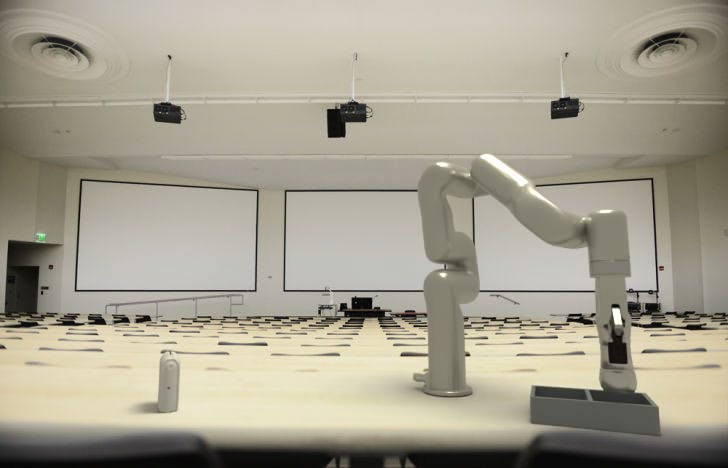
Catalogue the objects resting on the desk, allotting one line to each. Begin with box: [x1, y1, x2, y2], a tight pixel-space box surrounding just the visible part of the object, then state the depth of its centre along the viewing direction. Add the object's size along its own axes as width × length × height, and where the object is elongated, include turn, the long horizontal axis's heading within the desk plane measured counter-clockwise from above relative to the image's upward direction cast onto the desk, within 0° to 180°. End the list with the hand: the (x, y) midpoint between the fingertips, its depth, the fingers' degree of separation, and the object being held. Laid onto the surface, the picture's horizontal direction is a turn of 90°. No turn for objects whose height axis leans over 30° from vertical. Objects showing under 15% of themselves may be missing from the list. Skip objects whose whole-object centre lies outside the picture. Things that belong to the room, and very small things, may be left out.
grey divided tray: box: [529, 384, 662, 437], centre depth 93 cm, size 22×12×5 cm, turn 69°
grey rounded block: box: [157, 351, 181, 413], centre depth 105 cm, size 10×4×12 cm, turn 25°
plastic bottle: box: [594, 304, 638, 395], centre depth 92 cm, size 6×7×20 cm
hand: (616, 360), depth 92 cm, fingers closed on plastic bottle, 5 cm apart
